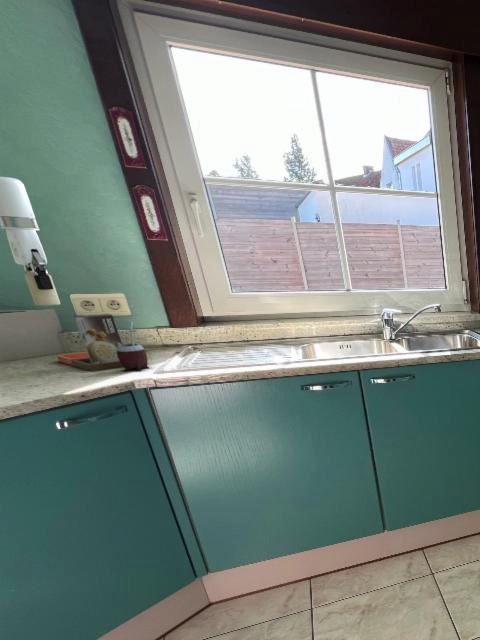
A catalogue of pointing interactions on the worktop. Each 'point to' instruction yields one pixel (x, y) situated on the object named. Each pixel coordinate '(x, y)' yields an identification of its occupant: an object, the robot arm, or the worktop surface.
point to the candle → (41, 291)
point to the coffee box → (99, 337)
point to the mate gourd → (132, 355)
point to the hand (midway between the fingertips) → (42, 288)
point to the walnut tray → (96, 365)
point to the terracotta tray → (72, 357)
